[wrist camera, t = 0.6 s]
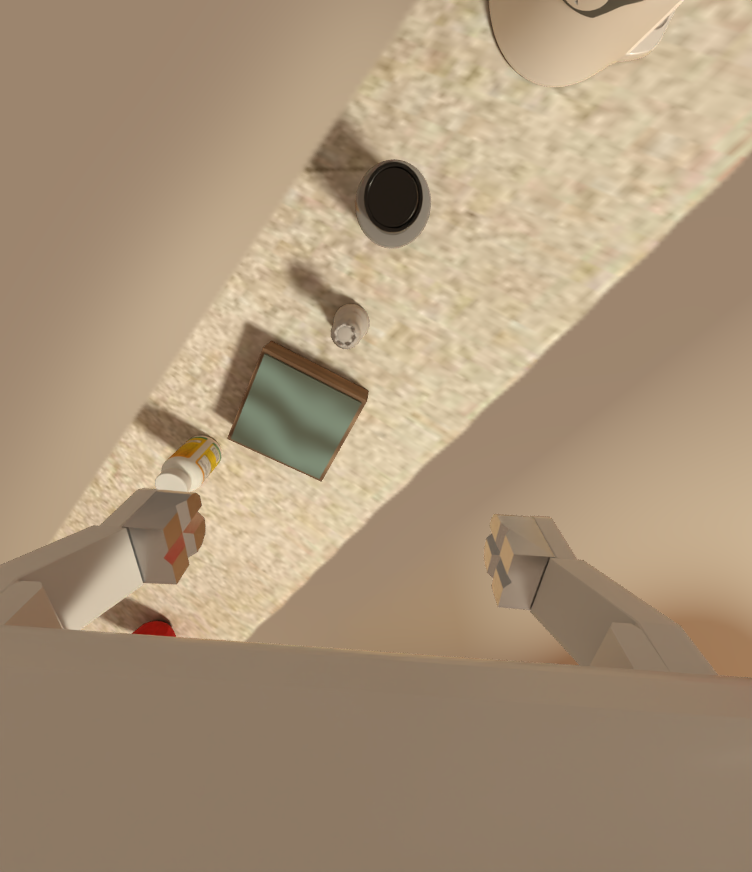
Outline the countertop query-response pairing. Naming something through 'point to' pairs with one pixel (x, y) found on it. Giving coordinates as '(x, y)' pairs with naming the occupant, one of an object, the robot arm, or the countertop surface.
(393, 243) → the lotion bottle
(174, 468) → the supplement bottle
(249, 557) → the countertop surface
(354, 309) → the rook chess piece
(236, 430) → the walnut plinth
